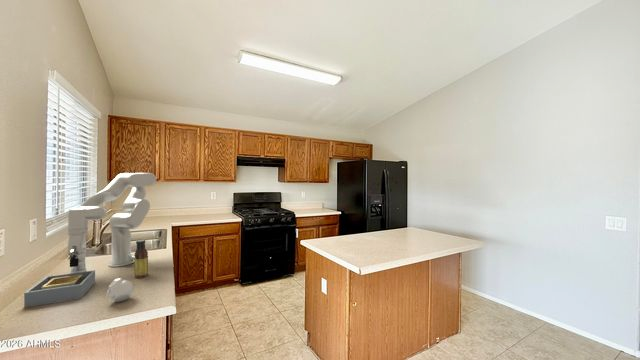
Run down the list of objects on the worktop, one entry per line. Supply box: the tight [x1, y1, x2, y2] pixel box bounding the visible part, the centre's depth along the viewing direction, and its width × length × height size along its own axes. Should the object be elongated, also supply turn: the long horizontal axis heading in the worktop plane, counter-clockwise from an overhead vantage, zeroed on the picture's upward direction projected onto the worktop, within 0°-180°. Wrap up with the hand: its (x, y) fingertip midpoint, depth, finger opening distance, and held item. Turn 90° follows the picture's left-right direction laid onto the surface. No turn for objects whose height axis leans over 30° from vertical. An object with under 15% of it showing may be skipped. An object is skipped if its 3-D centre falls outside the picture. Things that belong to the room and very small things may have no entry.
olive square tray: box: [41, 274, 83, 290], centre depth 120 cm, size 11×11×5 cm
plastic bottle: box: [69, 247, 88, 274], centre depth 137 cm, size 6×7×20 cm
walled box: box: [23, 269, 96, 308], centre depth 120 cm, size 18×20×6 cm
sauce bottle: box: [133, 239, 149, 279], centre depth 140 cm, size 6×6×20 cm
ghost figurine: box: [105, 277, 135, 303], centre depth 113 cm, size 9×10×10 cm
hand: (77, 263), depth 136 cm, fingers open, 9 cm apart
